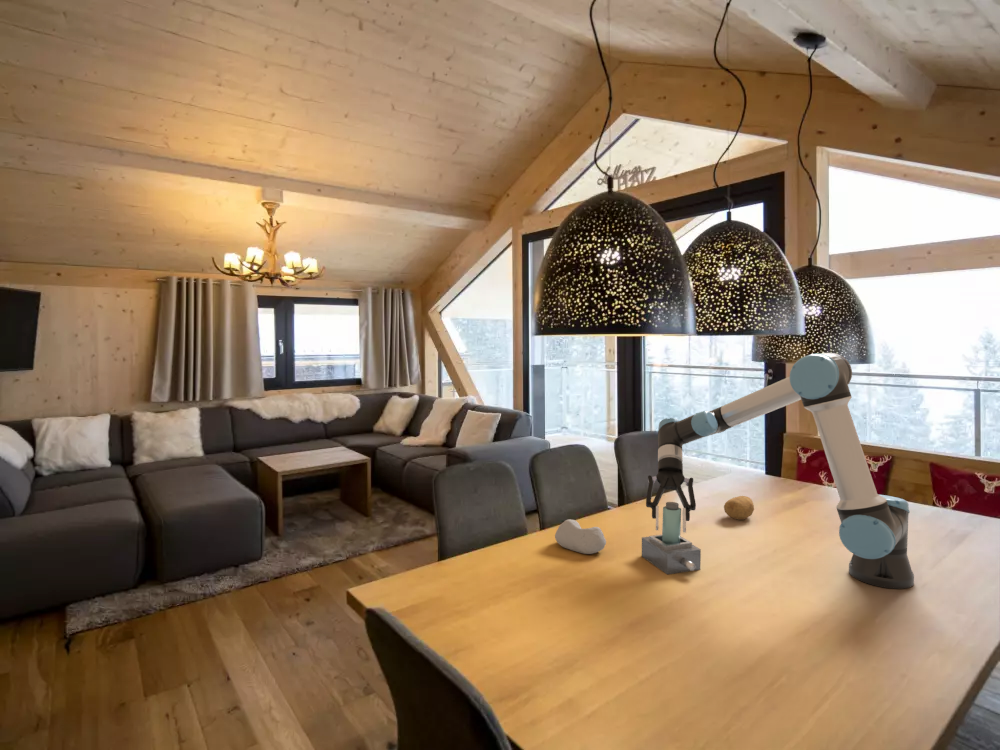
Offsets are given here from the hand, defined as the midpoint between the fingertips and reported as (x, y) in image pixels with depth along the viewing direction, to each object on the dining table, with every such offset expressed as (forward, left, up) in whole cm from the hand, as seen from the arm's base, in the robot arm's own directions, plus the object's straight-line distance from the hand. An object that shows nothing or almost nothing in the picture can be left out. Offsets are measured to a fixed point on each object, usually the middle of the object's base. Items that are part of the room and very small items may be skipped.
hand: (670, 529), depth 167 cm
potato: (+31, -49, -12) cm, 59 cm away
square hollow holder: (+3, -2, -12) cm, 12 cm away
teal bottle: (+3, -2, -5) cm, 7 cm away
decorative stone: (+22, +18, -12) cm, 31 cm away
